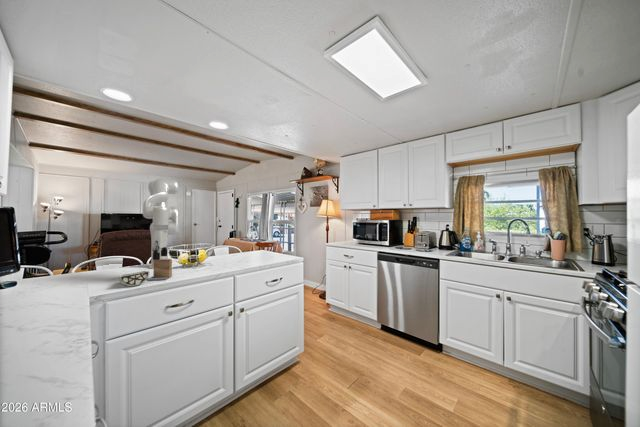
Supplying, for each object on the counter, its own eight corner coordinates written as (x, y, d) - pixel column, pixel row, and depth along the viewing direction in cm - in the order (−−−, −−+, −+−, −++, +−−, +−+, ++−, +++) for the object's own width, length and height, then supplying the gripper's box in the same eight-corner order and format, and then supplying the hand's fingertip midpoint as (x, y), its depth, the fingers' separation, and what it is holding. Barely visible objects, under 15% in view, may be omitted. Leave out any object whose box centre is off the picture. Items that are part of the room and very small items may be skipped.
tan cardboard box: (156, 276, 134) (156, 259, 134) (171, 275, 136) (171, 258, 136) (153, 278, 131) (153, 260, 131) (169, 277, 132) (169, 259, 133)
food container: (119, 287, 121) (119, 289, 114) (118, 275, 121) (118, 277, 114) (148, 281, 129) (150, 283, 122) (147, 270, 130) (149, 271, 122)
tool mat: (154, 276, 136) (154, 275, 136) (172, 276, 138) (172, 274, 138) (147, 281, 128) (147, 279, 128) (165, 280, 129) (165, 278, 130)
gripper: (160, 226, 141) (159, 255, 141) (145, 229, 124) (145, 261, 124) (173, 226, 143) (173, 254, 143) (161, 229, 126) (160, 261, 126)
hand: (160, 257), depth 134 cm, fingers open, 9 cm apart
